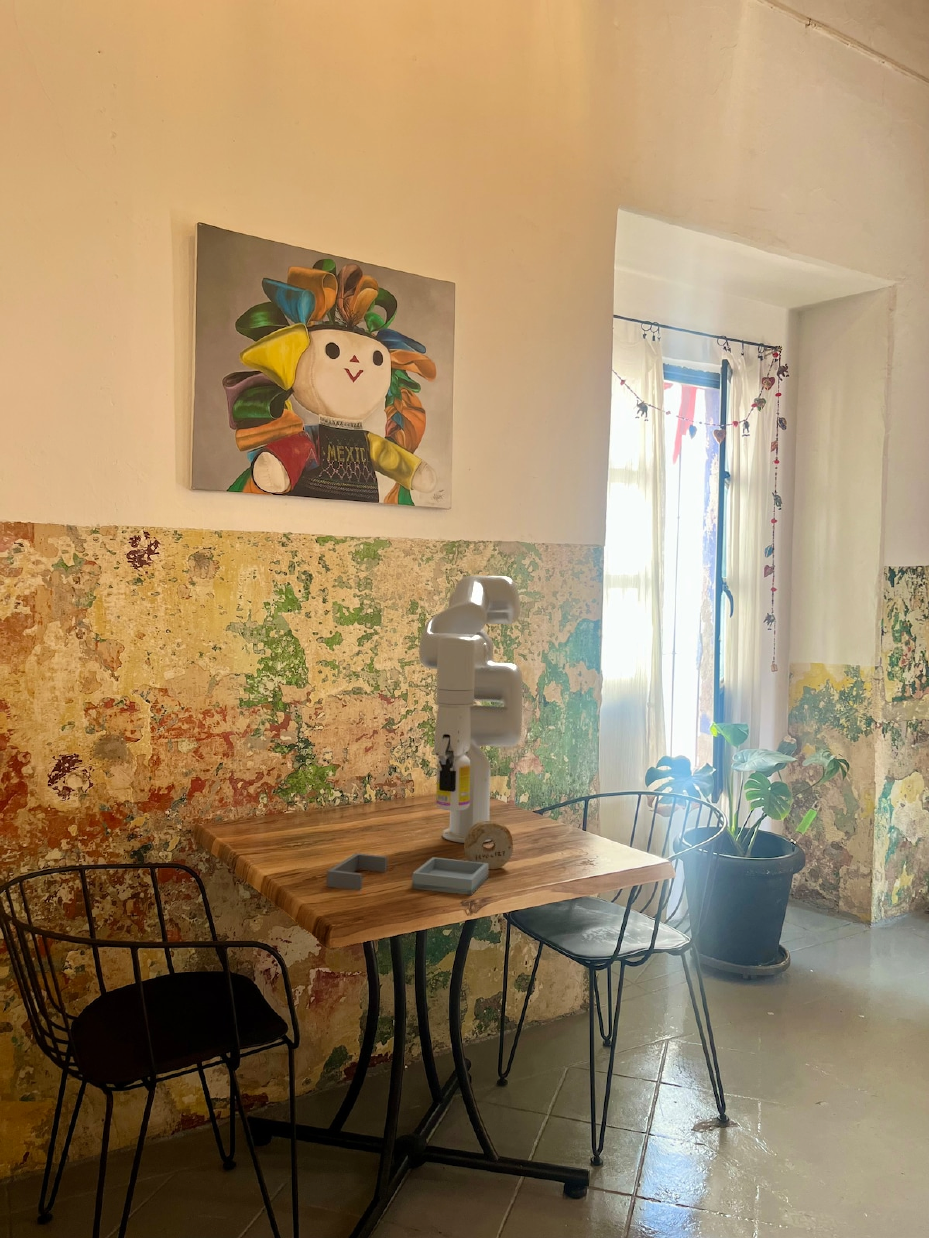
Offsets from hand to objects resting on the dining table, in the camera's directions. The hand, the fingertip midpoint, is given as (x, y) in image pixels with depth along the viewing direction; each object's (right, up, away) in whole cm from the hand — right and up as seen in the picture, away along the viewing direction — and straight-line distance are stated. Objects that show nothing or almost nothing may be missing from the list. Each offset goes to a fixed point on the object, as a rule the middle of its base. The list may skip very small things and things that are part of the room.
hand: (453, 786), depth 183 cm
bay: (-19, -19, +2) cm, 27 cm away
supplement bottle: (0, -4, 0) cm, 4 cm away
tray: (0, -19, 0) cm, 19 cm away
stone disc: (+7, -20, +11) cm, 24 cm away
